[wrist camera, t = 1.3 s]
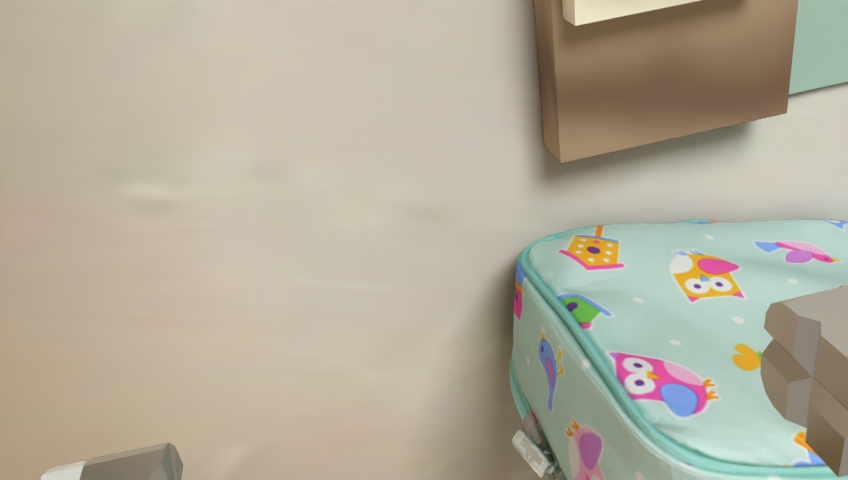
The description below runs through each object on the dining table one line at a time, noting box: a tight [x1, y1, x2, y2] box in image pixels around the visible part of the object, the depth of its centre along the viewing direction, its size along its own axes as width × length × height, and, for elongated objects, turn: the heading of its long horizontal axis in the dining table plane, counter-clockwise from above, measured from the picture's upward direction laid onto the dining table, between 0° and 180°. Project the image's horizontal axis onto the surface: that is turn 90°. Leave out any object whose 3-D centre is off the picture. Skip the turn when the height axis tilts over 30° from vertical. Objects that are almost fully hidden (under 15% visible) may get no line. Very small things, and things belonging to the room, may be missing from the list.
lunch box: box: [509, 219, 848, 480], centre depth 36 cm, size 27×10×21 cm, turn 86°
